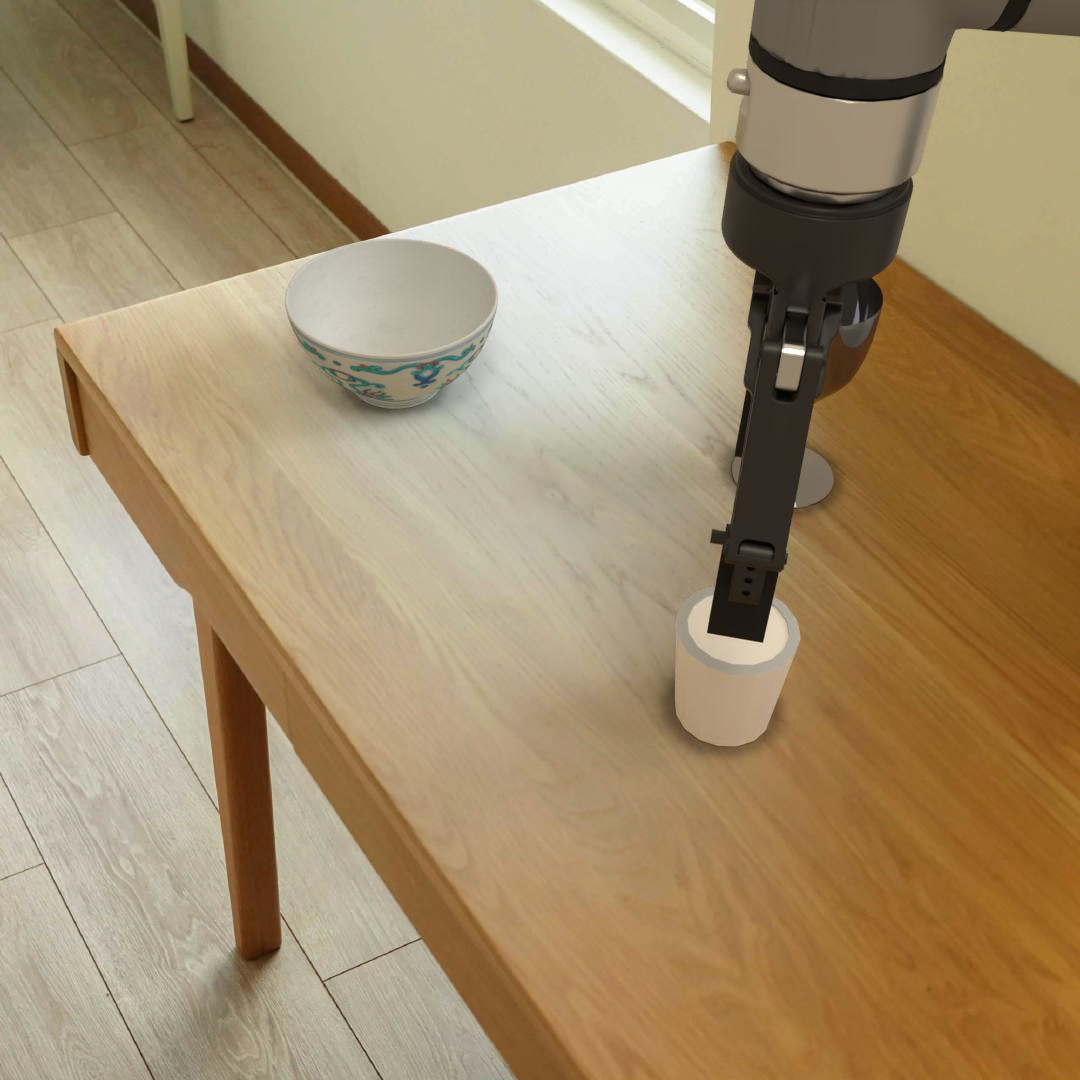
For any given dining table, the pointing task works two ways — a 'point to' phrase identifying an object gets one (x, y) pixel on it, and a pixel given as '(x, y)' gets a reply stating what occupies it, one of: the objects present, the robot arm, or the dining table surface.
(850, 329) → the wine glass
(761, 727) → the shot glass
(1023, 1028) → the dining table surface
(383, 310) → the chinaware
